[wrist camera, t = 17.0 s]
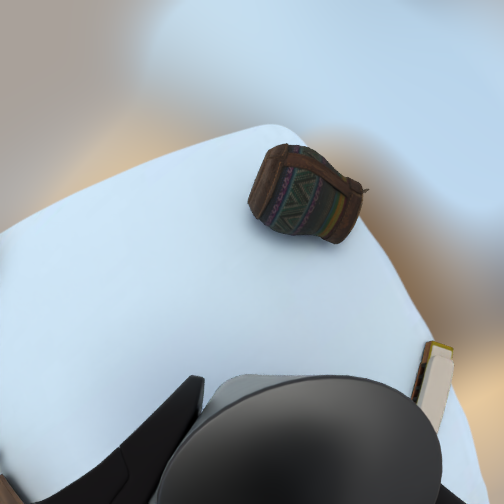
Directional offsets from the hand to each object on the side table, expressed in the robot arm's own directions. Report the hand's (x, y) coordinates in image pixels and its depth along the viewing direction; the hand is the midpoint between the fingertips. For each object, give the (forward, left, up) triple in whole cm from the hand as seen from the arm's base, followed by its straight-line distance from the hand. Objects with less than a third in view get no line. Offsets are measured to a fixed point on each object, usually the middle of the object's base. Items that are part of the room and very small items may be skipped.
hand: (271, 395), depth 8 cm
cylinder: (-1, +1, -7) cm, 7 cm away
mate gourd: (+11, -11, -9) cm, 18 cm away
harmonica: (-14, -7, -14) cm, 21 cm away
